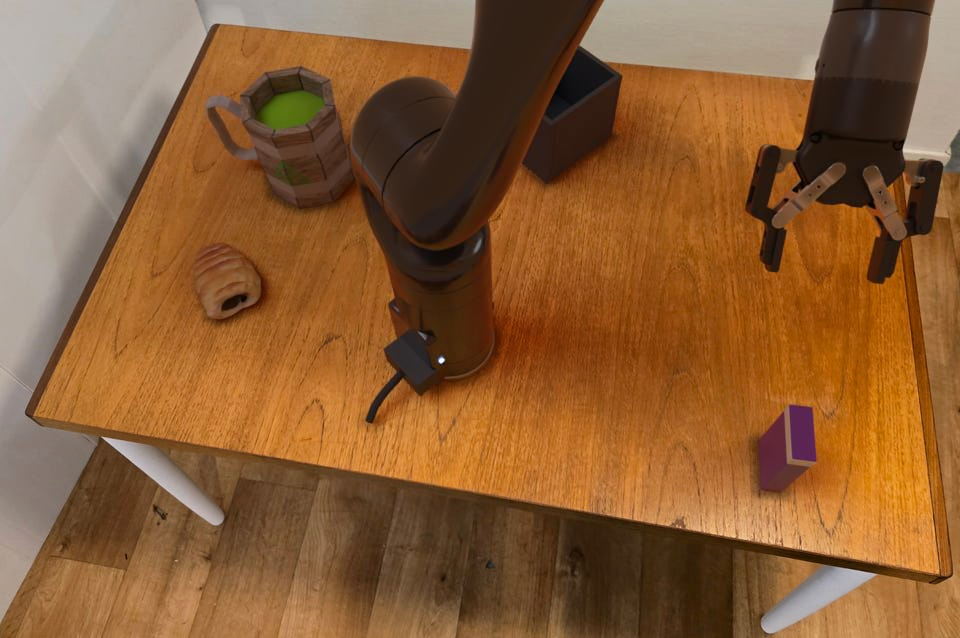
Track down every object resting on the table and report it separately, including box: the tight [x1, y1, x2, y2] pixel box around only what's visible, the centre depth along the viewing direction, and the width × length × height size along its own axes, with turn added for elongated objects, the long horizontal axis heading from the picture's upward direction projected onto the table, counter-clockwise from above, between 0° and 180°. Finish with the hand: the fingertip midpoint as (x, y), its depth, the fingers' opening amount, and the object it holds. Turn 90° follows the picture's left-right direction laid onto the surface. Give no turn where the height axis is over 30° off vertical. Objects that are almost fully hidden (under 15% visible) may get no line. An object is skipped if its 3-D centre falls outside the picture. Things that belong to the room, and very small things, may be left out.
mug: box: [205, 65, 356, 209], centre depth 86 cm, size 16×11×12 cm
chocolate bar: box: [758, 403, 818, 493], centre depth 68 cm, size 2×5×9 cm, turn 172°
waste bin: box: [521, 44, 623, 184], centre depth 89 cm, size 11×11×10 cm
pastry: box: [192, 241, 262, 320], centre depth 82 cm, size 9×7×4 cm
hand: (822, 276), depth 63 cm, fingers open, 8 cm apart
